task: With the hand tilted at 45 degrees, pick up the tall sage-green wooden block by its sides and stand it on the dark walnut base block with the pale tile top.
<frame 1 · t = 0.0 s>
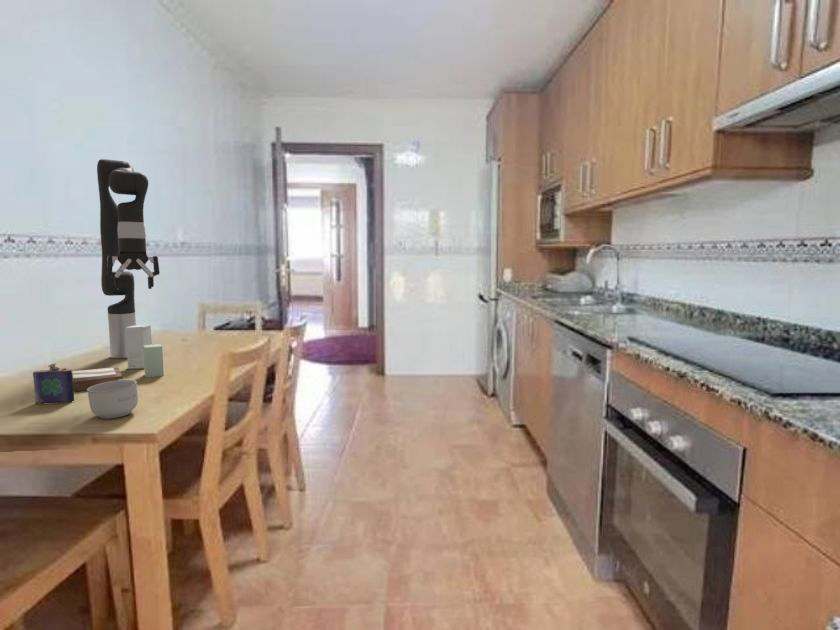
hand: (134, 289, 162), 29 cm above the table, tool pointing down, fingers open, 8 cm apart
green block: (154, 375, 172), on the table
flask: (55, 403, 140), on the table
teacup: (117, 413, 131), on the table
base block: (94, 383, 160), on the table
skincare box: (140, 367, 185), on the table
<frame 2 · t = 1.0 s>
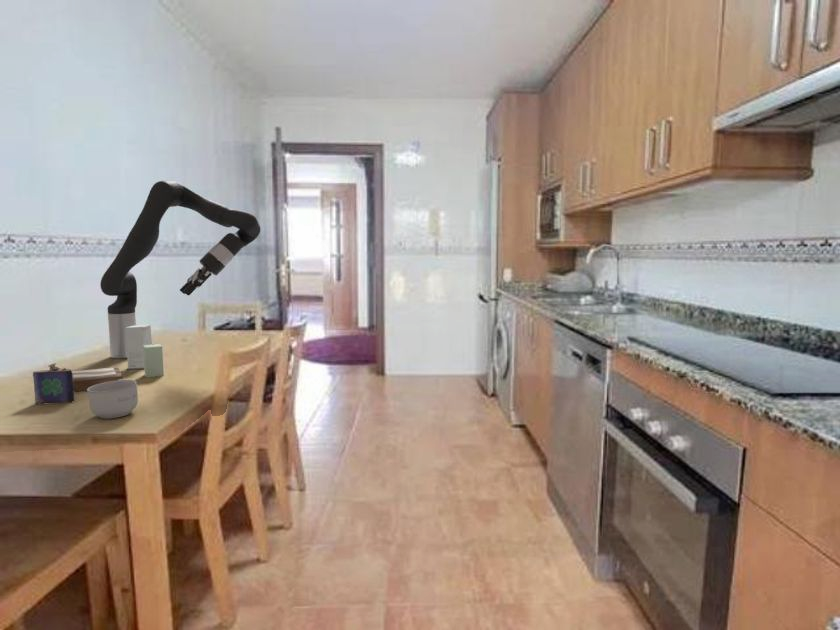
hand: (183, 293, 176), 27 cm above the table, tool tilted 45°, fingers open, 8 cm apart
nothing on the table moved.
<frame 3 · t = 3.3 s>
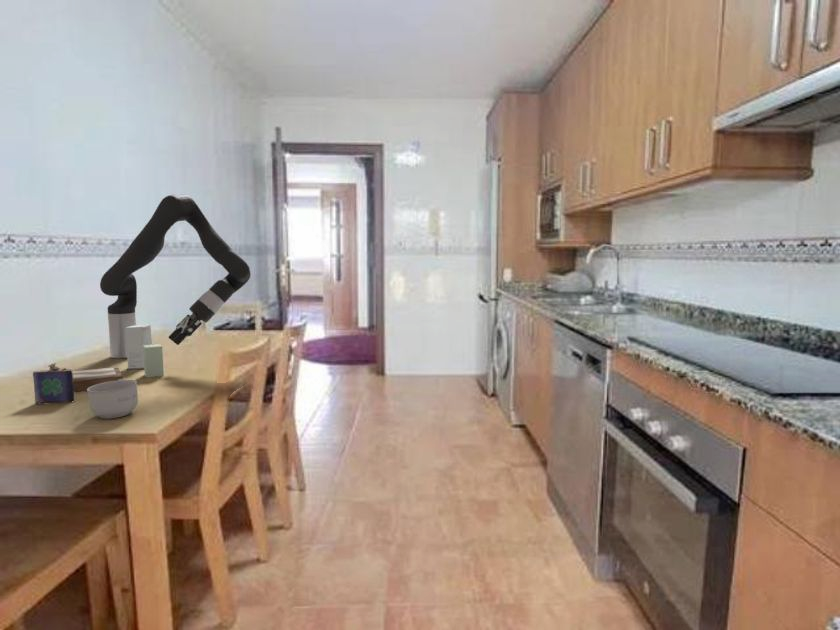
hand: (172, 341, 174), 11 cm above the table, tool tilted 45°, fingers open, 8 cm apart
nothing on the table moved.
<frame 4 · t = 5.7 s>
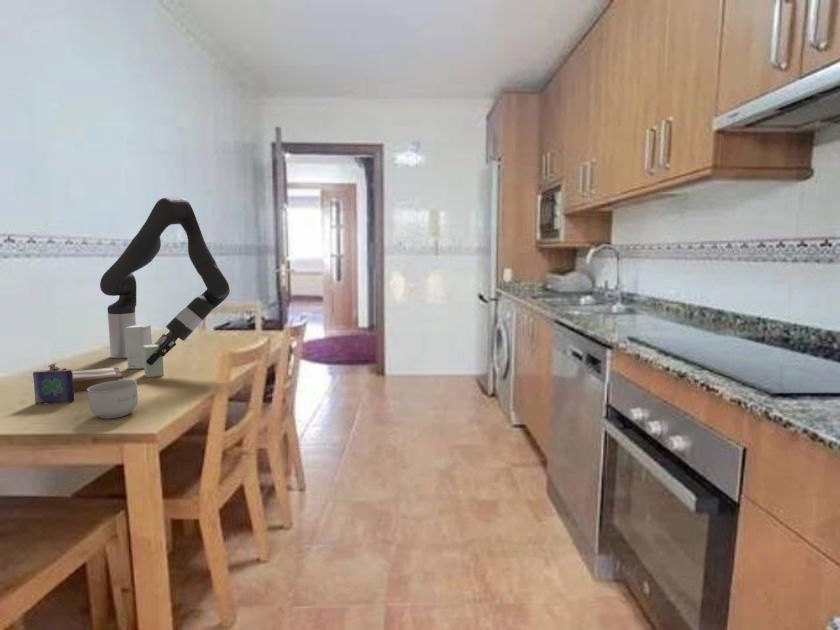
hand: (147, 361, 170), 5 cm above the table, tool tilted 45°, fingers closed on green block, 5 cm apart
green block: (154, 375, 172), on the table, touching gripper
everything else where it was.
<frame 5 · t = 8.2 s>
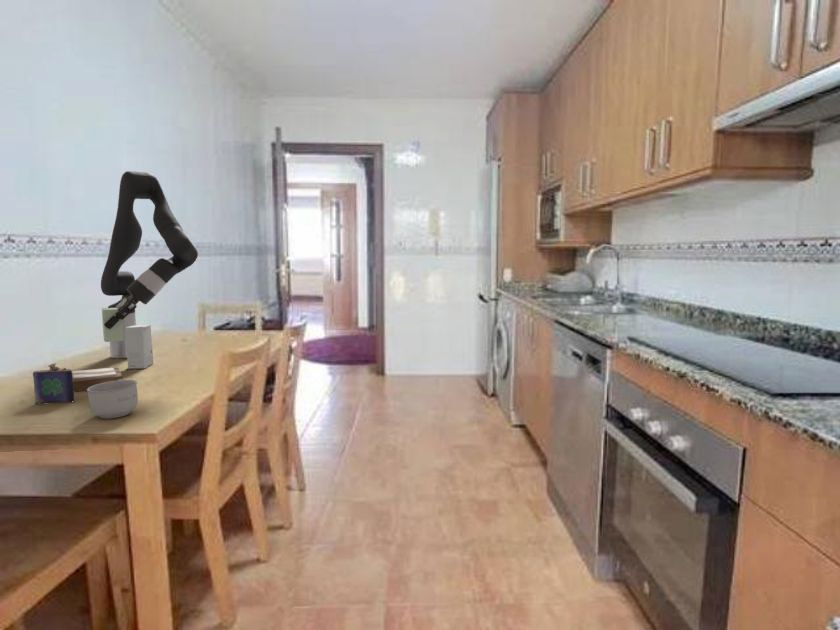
hand: (105, 325, 161), 18 cm above the table, tool tilted 45°, fingers closed on green block, 5 cm apart
green block: (113, 340, 162), point 13 cm above the table, touching gripper
everything else where it was.
when the fingers open (9 cm above the table, at t = 10.8 s): green block stays where it is, resting on base block.
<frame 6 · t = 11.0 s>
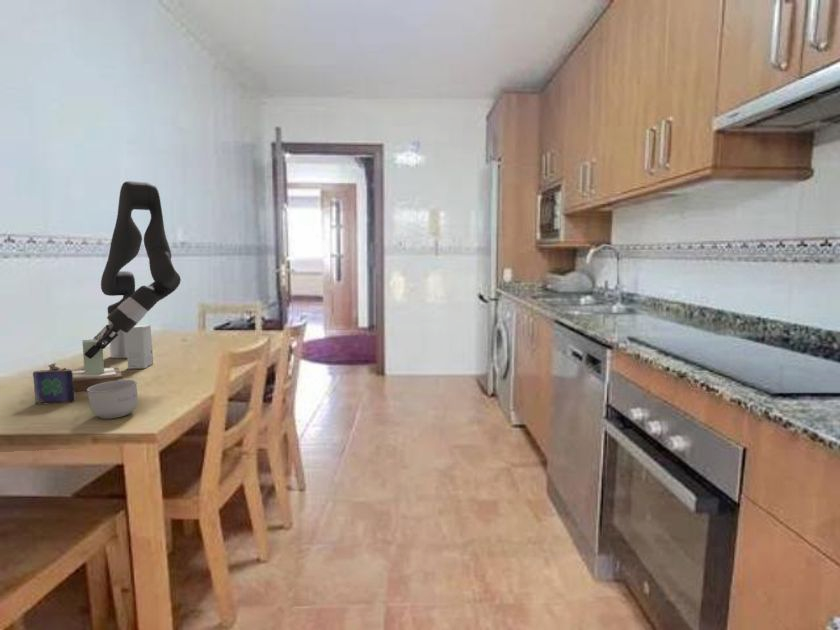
hand: (86, 354, 158), 9 cm above the table, tool tilted 45°, fingers open, 7 cm apart
green block: (94, 372, 159), point 4 cm above the table, touching base block
everything else where it was.
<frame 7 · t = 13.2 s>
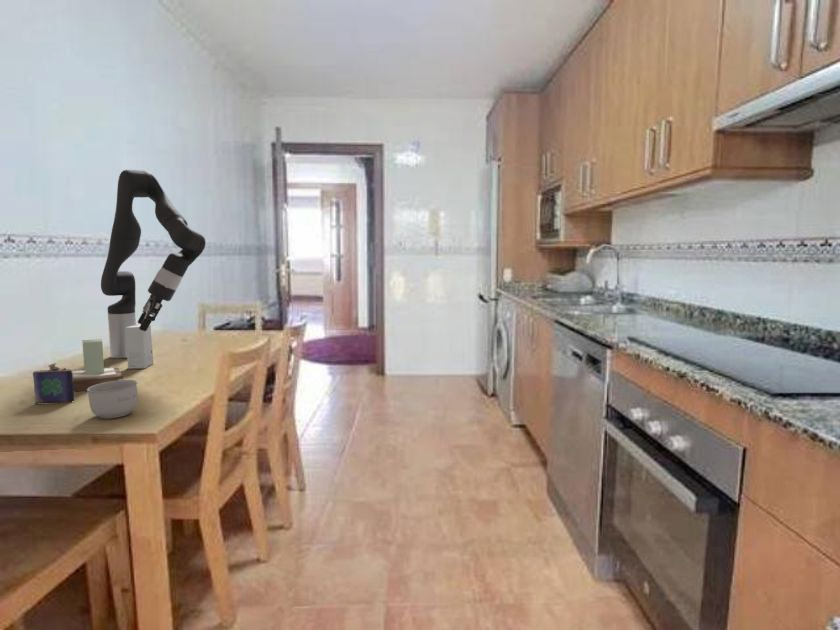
hand: (141, 326, 170), 16 cm above the table, tool tilted 30°, fingers open, 8 cm apart
nothing on the table moved.
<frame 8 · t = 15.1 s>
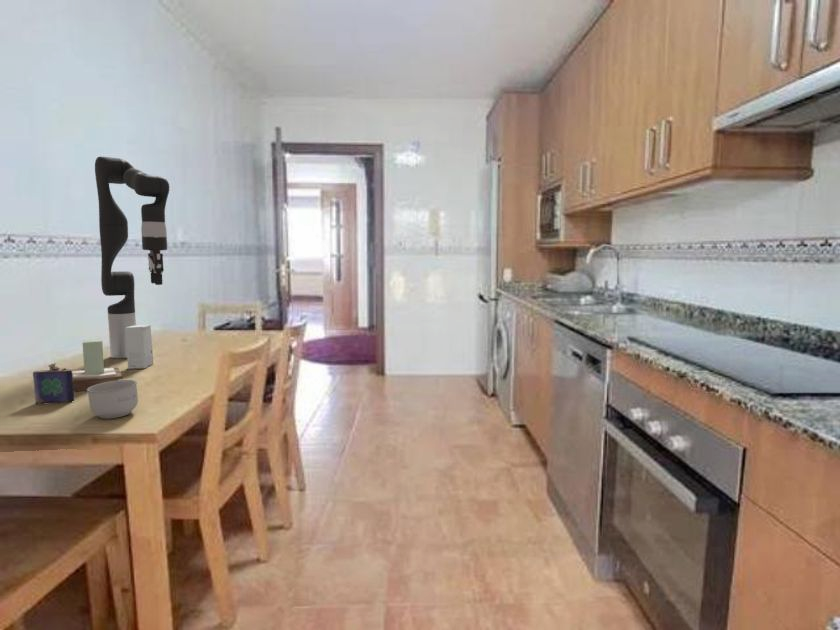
hand: (156, 284, 175), 30 cm above the table, tool pointing down, fingers open, 8 cm apart
nothing on the table moved.
at the end: green block inside the target area on the base block (0.1 cm from its centre), point 3.6 cm above the base block's base; green block tilted 0°; the gripper is holding nothing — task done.
